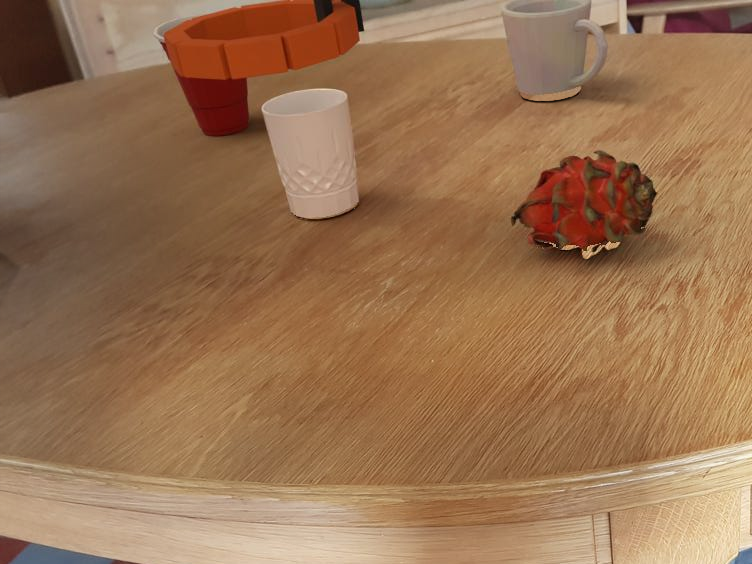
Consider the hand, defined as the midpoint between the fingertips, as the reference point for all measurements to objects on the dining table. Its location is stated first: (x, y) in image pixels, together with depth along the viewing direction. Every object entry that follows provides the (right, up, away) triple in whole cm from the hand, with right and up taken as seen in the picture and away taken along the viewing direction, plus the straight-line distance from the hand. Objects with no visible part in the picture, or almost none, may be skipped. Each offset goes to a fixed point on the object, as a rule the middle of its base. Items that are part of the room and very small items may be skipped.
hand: (341, 31), depth 78 cm
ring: (-6, -3, -2) cm, 7 cm away
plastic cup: (-20, +6, +38) cm, 44 cm away
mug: (+21, +9, +36) cm, 43 cm away
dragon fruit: (+20, -18, +1) cm, 27 cm away
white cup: (-4, -10, +15) cm, 18 cm away
